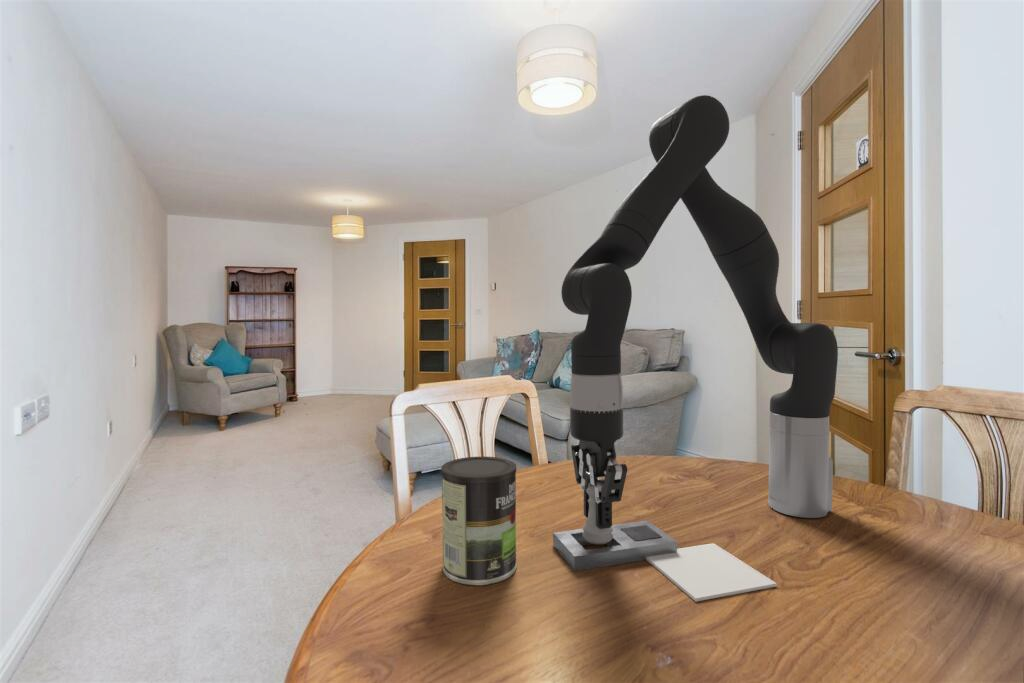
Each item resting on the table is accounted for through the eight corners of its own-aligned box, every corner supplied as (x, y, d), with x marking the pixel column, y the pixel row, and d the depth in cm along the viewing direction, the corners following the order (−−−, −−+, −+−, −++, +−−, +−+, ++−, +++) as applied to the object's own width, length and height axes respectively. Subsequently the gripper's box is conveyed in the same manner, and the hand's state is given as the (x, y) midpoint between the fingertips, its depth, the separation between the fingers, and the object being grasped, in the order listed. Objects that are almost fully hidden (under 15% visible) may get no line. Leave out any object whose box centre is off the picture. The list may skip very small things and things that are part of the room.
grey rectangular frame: (647, 532, 80) (647, 519, 80) (676, 555, 72) (677, 540, 72) (553, 545, 75) (553, 531, 75) (574, 571, 67) (574, 555, 67)
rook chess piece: (613, 546, 70) (612, 490, 70) (581, 544, 71) (580, 488, 71) (613, 533, 74) (612, 480, 74) (583, 531, 75) (582, 478, 75)
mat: (713, 545, 75) (713, 543, 75) (776, 586, 63) (776, 583, 63) (642, 556, 71) (642, 553, 71) (695, 601, 60) (695, 598, 60)
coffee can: (526, 555, 72) (526, 459, 71) (500, 592, 62) (499, 480, 62) (462, 545, 76) (461, 453, 75) (428, 578, 66) (426, 472, 65)
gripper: (645, 411, 66) (646, 538, 67) (598, 395, 80) (599, 502, 80) (594, 415, 64) (595, 546, 65) (554, 398, 78) (555, 507, 78)
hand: (597, 521), depth 73 cm, fingers closed on rook chess piece, 3 cm apart
